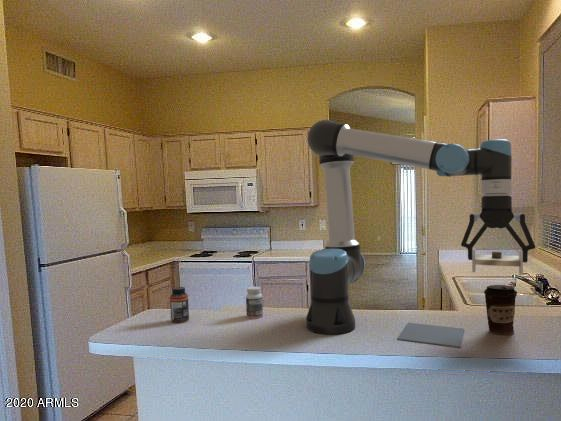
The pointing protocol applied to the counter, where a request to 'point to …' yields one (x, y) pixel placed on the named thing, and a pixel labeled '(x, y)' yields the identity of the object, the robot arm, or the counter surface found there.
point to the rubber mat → (432, 334)
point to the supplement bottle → (179, 305)
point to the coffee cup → (500, 308)
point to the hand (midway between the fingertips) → (496, 272)
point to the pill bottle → (254, 302)
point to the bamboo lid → (497, 259)
